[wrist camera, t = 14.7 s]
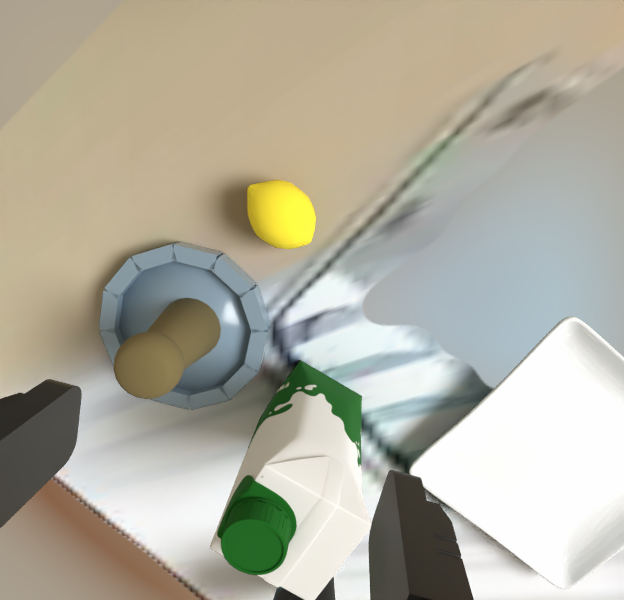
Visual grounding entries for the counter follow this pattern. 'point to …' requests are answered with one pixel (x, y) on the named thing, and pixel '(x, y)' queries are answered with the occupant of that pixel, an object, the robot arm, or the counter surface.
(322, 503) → the milk carton
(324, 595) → the dixie cup
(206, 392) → the round dish
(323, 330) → the counter surface
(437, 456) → the salad plate
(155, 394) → the tan pawn shape
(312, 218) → the lemon
